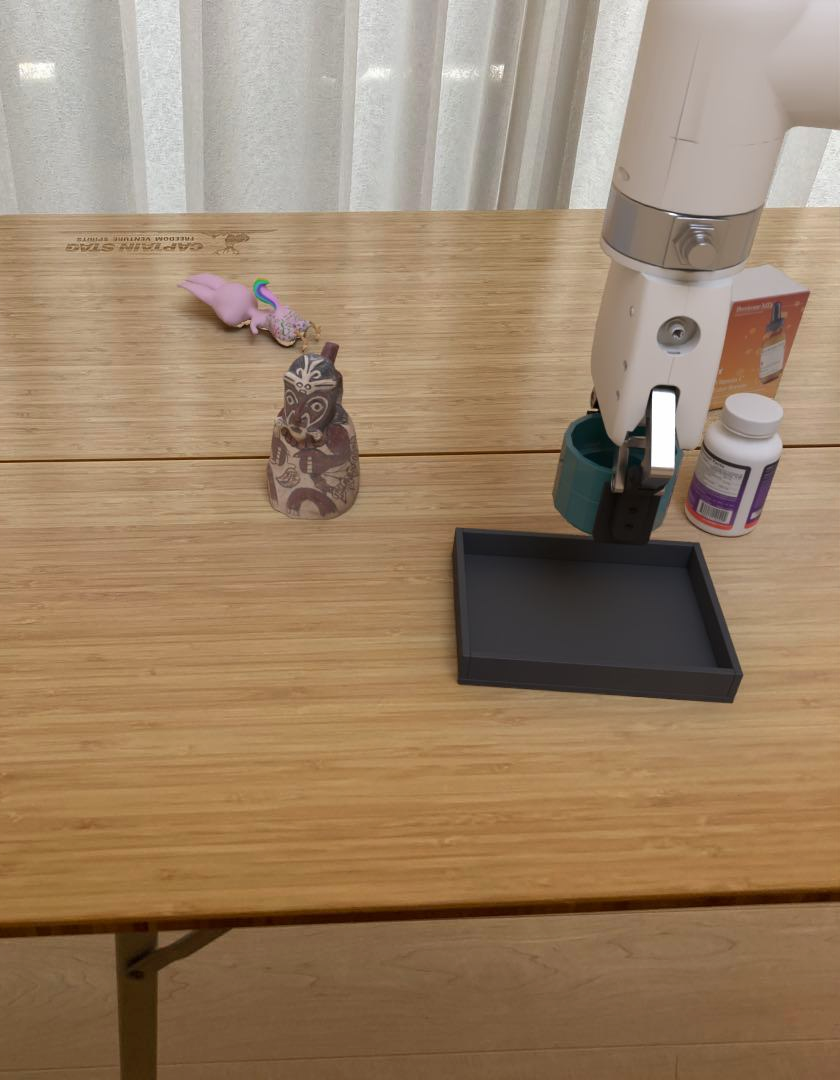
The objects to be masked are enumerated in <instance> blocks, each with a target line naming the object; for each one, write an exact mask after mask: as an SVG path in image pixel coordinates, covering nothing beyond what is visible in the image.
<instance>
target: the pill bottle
mask: <svg viewBox="0 0 840 1080" xmlns="http://www.w3.org/2000/svg"><path fill="white" fill-rule="evenodd" d="M784 411H785V410H784V408H783V406H781V404H780V403H779V402H777V401H775V400H774V399H773V400H772V399H770V398H768V397H766V396H762V395H759V394H754V393H737V394H733V395H731V396H729V397H728V398H727V399H726V400H725V403H724V406H723V407H722V409H721V413H720V416H719V419H717V420H715V421H713V422H712V423H710V425H708V427H707V428H706V430H705V433H704V436H703V439H702V441H701V447H700V449H699V453H698V456H697V461H696V464H695V468H694V471H693V474H692V478H691V481H690V484H689V488H688V491H687V495H686V499H685V503H684V513H685V516H686V517H687V518H688V520H689V521H690V522H691V523H692V524H693V525H694V526H695V527H697V528H699V529H700V530H703V531H704V532H707V533H709V534H712V535H715V536H721V537H739V536H740V537H741V536H744V535H746V534H749V533H751V532H752V531H753V530H754V529H756V527H757V525H758V524H759V520H760V518H761V516H762V513H763V510H764V506H765V503H766V500H767V497H768V495H769V491H770V489H771V486H772V483H773V480H774V477H775V474H776V471H777V468H778V466H779V462H780V459H781V457H782V452H783V440H782V438H781V436H780V435H779V433H778V432H779V430H780V428H781V425H782V421H783V418H784V413H785V412H784Z"/></svg>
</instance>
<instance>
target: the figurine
mask: <svg viewBox="0 0 840 1080" xmlns="http://www.w3.org/2000/svg"><path fill="white" fill-rule="evenodd" d="M339 349H340V345H339V344H338V343H336V342H333V341H331V340H327V341H325V343H324V346H323V347H322V349H321V352H320V354H318V353H313V352H306V353H303V354H302V355H300V356H299V357H297V358H296V359H294V361H293V362H292V363H291V365H290V366H289V368H288V370H286V371H285V372H284V373H283V374H282V381H283V384H284V385H283V387H284V388H283V389H284V390H283V391H284V393H283V407H281V409H280V411H279V412H278V414H277V416H276V417H275V419H274V422H273V423H274V425H273V428H272V434H271V435H272V437H271V445H270V451H269V452H270V453H269V458H268V462H267V465H266V476H267V479H266V481H267V489H268V494H269V503H270V504H271V506H272V508H273V509H274V510H275V511H278V512H280V513H282V514H284V515H285V516H287V517H290V518H292V519H301V520H310V521H311V520H319V521H321V520H331V519H334V518H337V517H339V516H341V515H342V514H344V513H346V512H347V511H348V510H350V509H351V507H352V505H353V504H354V503H355V501H356V498H357V495H358V493H359V489H360V480H361V479H360V478H361V466H360V465H361V464H360V454H359V453H360V452H359V443H358V440H357V433H356V428H355V425H354V422H353V420H352V419H353V418H352V417H351V416H350V414H349V413H348V411H347V410H346V409H345V408H344V407H343V397H344V376H343V375H342V373H341V372H340V371H339V370H338V369H337V368H336V367H335V362H336V359H337V356H338V353H339Z"/></svg>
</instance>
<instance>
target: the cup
mask: <svg viewBox="0 0 840 1080" xmlns="http://www.w3.org/2000/svg"><path fill="white" fill-rule="evenodd" d="M628 436H641V437H646V427H645V426H636V427H635V429H634V430H633V431H628ZM614 450H615V443H614V442H613V441H612V440H611V439H610V438H609V436H608V434H607V432H606V429H605V425H604V422H603V418H602V414H601V413H596V414H590V415H586V414H585V415H583V416H580V417H579V418H576V419H575V420H573V421H571V422H570V423H569V425H568V427H567V428H566V430H565V431H564V434H563V438H562V443H561V448H560V452H559V457H558V462H557V463H558V464H557V467H556V472H555V477H554V483H553V487H552V492H551V496H552V502H553V507H554V509H555V510H556V511H557V512H558V513H559V514H560V516H561V517H562V519H564V520H565V521H566V522H567V523H569V524H570V525H571V526H572V527H574V528H575V529H577V530H579V531H580V532H583V533H585V534H586V535H589V536H593V534H592V531H593V527H594V523H595V519H596V515H597V511H598V506H599V502H600V498H601V494H602V490H603V486H604V482H611V476H612V468H613V459H614ZM684 455H685V452H684V449H679V446H678V443H677V441H676V438H675V470H674V475H673V478H672V479H671V480H670V481H669V482H668V484H666V485H665V491H664V494H663V496H661V500H660V503H659V507H658V511H657V514H656V518H655V521H654V525H653V528H652V532H651V534H652V533H653V532H655V531H656V530H658V529H659V528H661V527H662V526H663V524H664V522H665V519H666V518H667V514H668V511H669V507H670V504H671V500H672V498H673V494H674V490H675V487H676V483H677V480H678V476H679V473H680V469H681V466H682V462H683V459H684ZM644 456H645V449H631V448H629V454H628V462H627V470H628V469H629V468H631V467H632V466H634V465H636V466H641V462H642V461H643V460H644Z"/></svg>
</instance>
